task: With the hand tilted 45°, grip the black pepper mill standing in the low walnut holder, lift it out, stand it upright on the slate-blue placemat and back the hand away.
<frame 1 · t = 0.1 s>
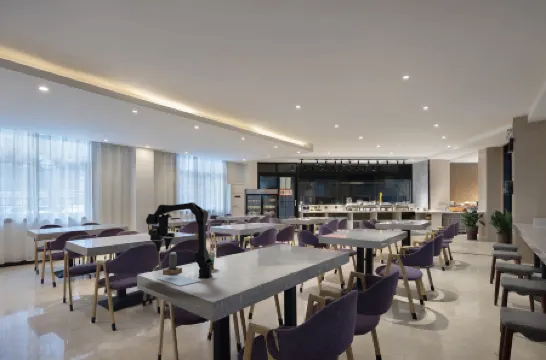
hand: (162, 250, 191), 15 cm above the table, tool pointing down, fingers open, 9 cm apart
food container: (210, 269, 208), on the table
walnut holder: (172, 272, 197), on the table
placemat: (178, 280, 177), on the table
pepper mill: (172, 262, 197), in the walnut holder
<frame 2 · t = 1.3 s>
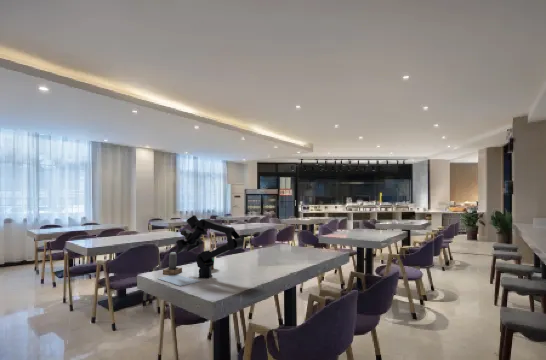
hand: (182, 251, 194), 13 cm above the table, tool tilted 45°, fingers open, 9 cm apart
nothing on the table moved.
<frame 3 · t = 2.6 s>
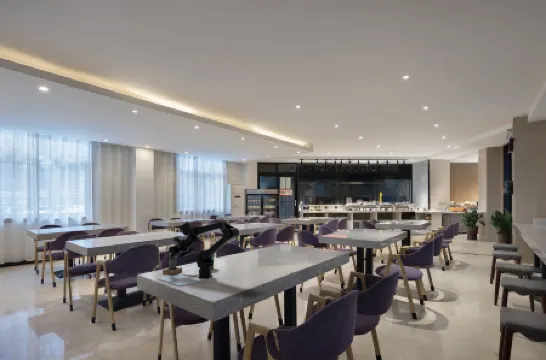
hand: (175, 258, 196), 9 cm above the table, tool tilted 45°, fingers open, 9 cm apart
nothing on the table moved.
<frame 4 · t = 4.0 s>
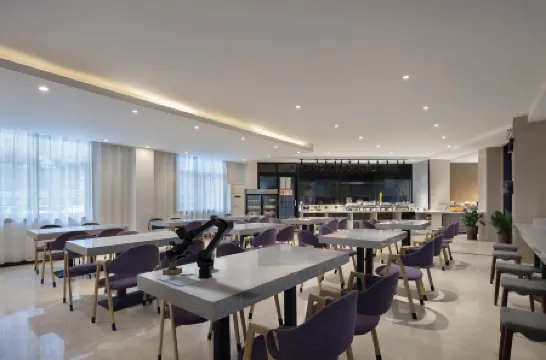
hand: (171, 261, 198), 7 cm above the table, tool tilted 45°, fingers closed on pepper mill, 4 cm apart
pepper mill: (172, 262, 197), in the walnut holder, touching gripper
everything else where it was.
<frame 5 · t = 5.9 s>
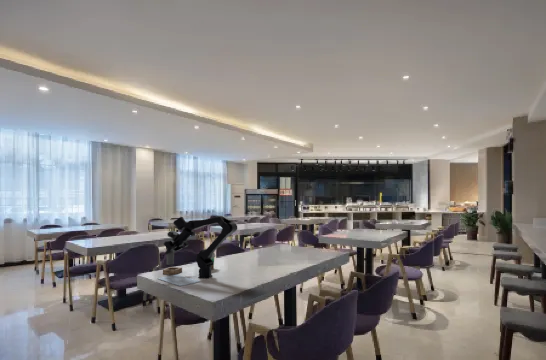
hand: (168, 253, 195), 12 cm above the table, tool tilted 45°, fingers closed on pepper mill, 4 cm apart
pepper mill: (170, 254, 194), point 12 cm above the table, touching gripper
everything else where it was.
when the fingers open (8 cm above the table, at t = 8.1 s): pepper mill drops 1 cm, resting on placemat.
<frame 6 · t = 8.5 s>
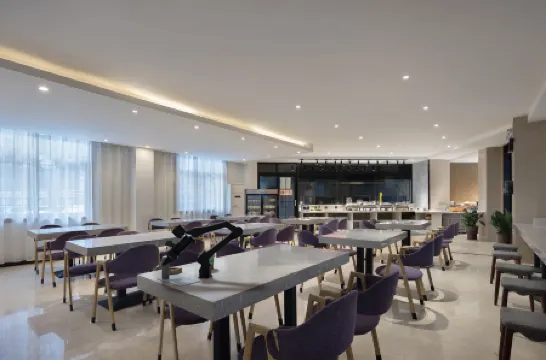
hand: (163, 263, 181), 9 cm above the table, tool tilted 45°, fingers open, 9 cm apart
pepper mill: (165, 267, 181), on the placemat
everything else where it was.
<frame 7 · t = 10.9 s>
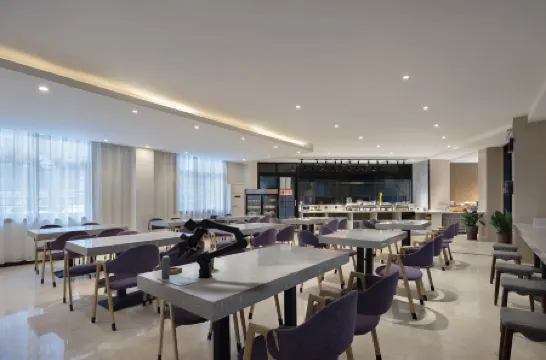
hand: (182, 258, 186), 11 cm above the table, tool tilted 35°, fingers open, 9 cm apart
nothing on the table moved.
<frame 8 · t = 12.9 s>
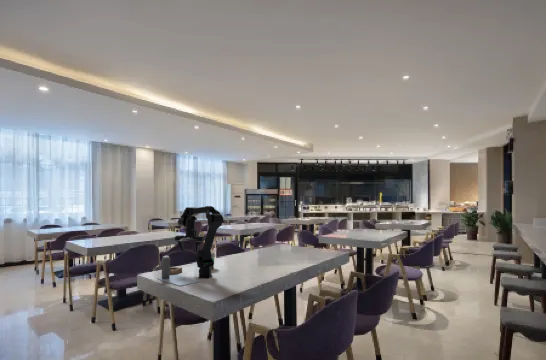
hand: (189, 252, 196), 13 cm above the table, tool pointing down, fingers open, 9 cm apart
nothing on the table moved.
at the end: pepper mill inside the target area (0.1 cm from its centre), resting on placemat; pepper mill tilted 0°; the gripper is holding nothing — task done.
